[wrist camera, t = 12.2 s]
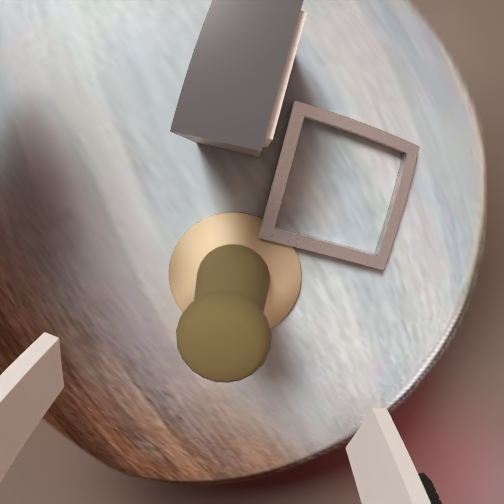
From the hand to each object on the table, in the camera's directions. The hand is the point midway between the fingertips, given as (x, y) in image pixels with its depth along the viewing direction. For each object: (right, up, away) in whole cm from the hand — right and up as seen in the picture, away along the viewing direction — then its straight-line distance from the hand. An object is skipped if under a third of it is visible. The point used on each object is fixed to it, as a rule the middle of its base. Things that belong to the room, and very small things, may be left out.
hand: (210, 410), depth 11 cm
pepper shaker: (0, +4, +15) cm, 15 cm away
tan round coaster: (0, +4, +15) cm, 16 cm away
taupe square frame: (+9, +11, +13) cm, 19 cm away
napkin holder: (+1, +19, +11) cm, 22 cm away
